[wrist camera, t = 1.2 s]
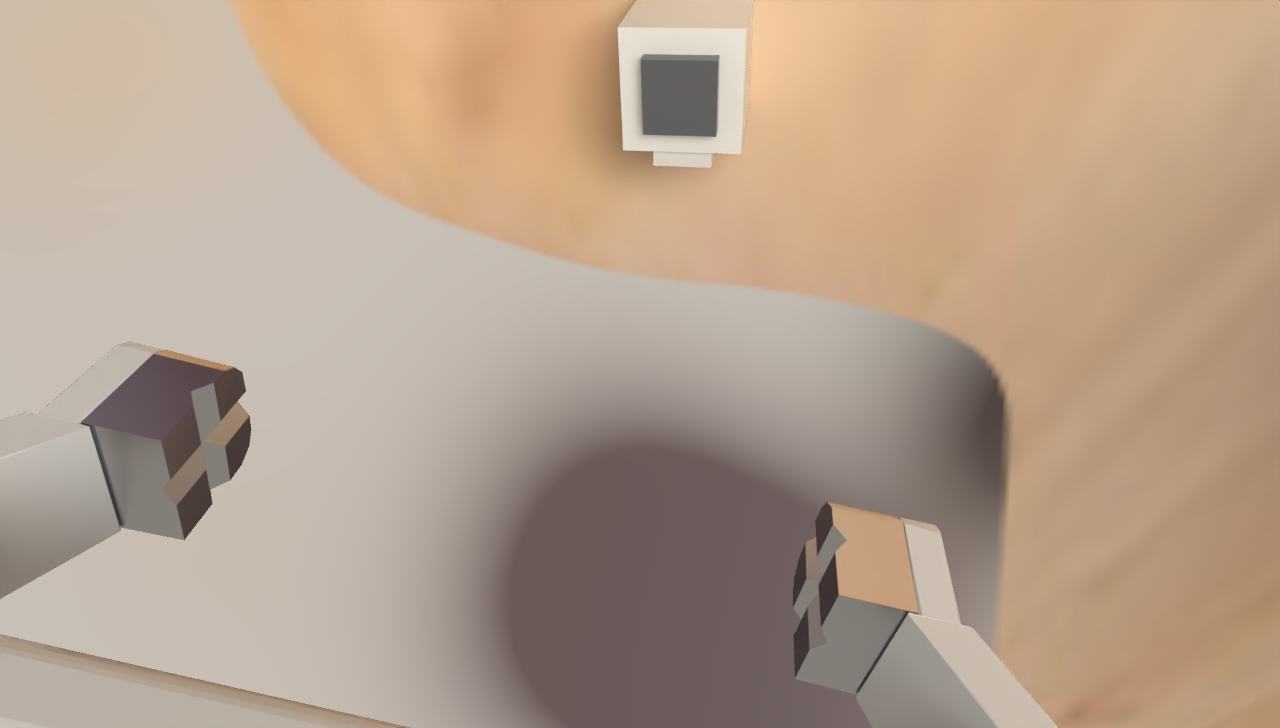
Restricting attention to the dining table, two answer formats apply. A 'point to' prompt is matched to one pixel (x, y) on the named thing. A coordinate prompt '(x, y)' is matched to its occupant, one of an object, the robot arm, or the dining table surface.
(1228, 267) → the dining table surface
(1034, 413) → the dining table surface
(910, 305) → the dining table surface
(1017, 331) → the dining table surface
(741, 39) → the white and grey block
